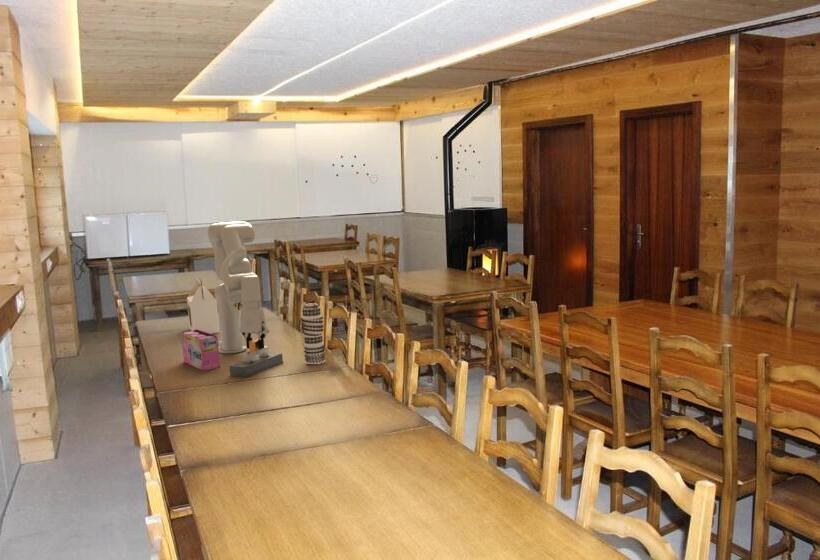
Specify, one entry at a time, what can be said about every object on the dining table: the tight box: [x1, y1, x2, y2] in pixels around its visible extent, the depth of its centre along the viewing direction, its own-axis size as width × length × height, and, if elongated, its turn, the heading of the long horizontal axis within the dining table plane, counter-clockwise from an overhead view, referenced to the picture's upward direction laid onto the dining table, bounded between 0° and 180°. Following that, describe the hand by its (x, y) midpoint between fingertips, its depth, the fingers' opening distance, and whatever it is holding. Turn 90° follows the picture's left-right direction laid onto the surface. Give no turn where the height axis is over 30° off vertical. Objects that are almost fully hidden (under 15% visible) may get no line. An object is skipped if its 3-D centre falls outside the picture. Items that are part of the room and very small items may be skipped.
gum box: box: [181, 329, 221, 371], centre depth 324 cm, size 24×8×14 cm, turn 38°
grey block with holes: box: [229, 351, 284, 378], centre depth 311 cm, size 8×24×4 cm, turn 152°
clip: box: [242, 338, 270, 364], centre depth 310 cm, size 3×14×12 cm, turn 152°
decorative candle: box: [300, 302, 326, 365], centre depth 315 cm, size 9×9×25 cm
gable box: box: [186, 277, 220, 335], centre depth 399 cm, size 22×13×28 cm, turn 21°
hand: (255, 347), depth 310 cm, fingers open, 5 cm apart
